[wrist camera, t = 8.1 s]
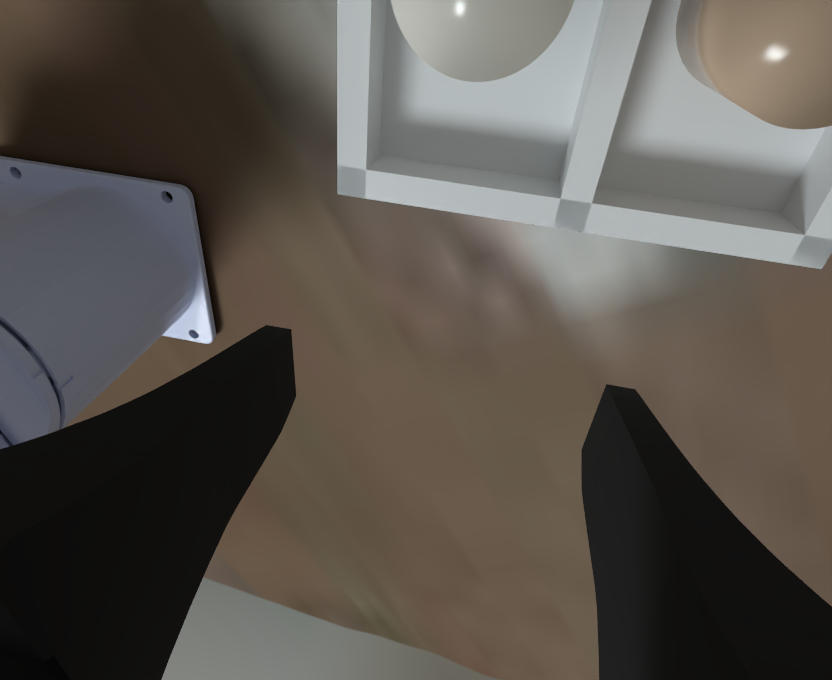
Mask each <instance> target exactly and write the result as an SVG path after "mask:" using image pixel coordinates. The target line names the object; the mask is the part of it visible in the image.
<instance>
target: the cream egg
mask: <svg viewBox="0 0 832 680" xmlns="http://www.w3.org/2000/svg"><path fill="white" fill-rule="evenodd" d="M391 3H392V7H393V11H394V15H395V17H396V20H397V22H398V25H399V27H400V29H401V31H402V33H403V35H404V37H405V39H406V40H407V42H408V43H409V45H410V46H411V48H412V49H413V50H414V51H415V52H416V53H417V55H418V56H419V57H420V58H421V59H422V60H423V61H425V62H426V63H427V64H428V65H429V66H431V67H432V68H434V69H435V70H437V71H438V72H440V73H442V74H444V75H446V76H448V77H451V78H454V79H458V80H462V81H468V82H487V81H494V80H498V79H501V78H505V77H507V76H510V75H512V74H514V73H517V72H518V71H520V70H522V69H523V68H525V67H527V66H528V65H529V64H531V63H532V62H533V61H535V60H536V59H537V58H538V57H539V56H540V55H541V54H542V53H543V52H544V51H545V50H546V49H547V48H548V47H549V46H550V44H551V43H552V42H553V41H554V39H555V38H556V37H557V35H558V34H559V32H560V30H561V29H562V27H563V26H564V24H565V22H566V20H567V18H568V16H569V14H570V11H571V9H572V6H573V3H574V0H391Z"/></svg>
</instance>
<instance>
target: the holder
mask: <svg viewBox="0 0 832 680" xmlns="http://www.w3.org/2000/svg"><path fill="white" fill-rule="evenodd" d="M680 3H681V0H574V3H573V6H572V9H571V11H570V14H569V16H568V18H567V20H566V22H565V24H564V26H563V27H562V29H561V30H560V32H559V34H558V35H557V37H556V38H555V39H554V41H553V42H552V43H551V44H550V46H549V47H548V48H547V49H546V50H545V51H544V52H543V53H542V54H541V55H540V56H539V57H538V58H537V59H536V60H535V61H533V62H532V63H531V64H529V65H528V66H527V67H525V68H523V69H522V70H520V71H518V72H517V73H514V74H512V75H510V76H507V77H505V78H501V79H498V80H494V81H487V82H468V81H462V80H458V79H454V78H451V77H448V76H446V75H444V74H442V73H440V72H438V71H437V70H435V69H434V68H432V67H431V66H429V65H428V64H427V63H426V62H425V61H423V60H422V59H421V58H420V57H419V56H418V55H417V53H416V52H415V51H414V50H413V49H412V48H411V46H410V45H409V43H408V42H407V40H406V39H405V37H404V35H403V33H402V31H401V29H400V27H399V25H398V22H397V20H396V17H395V15H394V11H393V7H392V3H391V0H337V194H340V195H346V196H352V197H359V198H365V199H372V200H378V201H385V202H391V203H398V204H404V205H411V206H417V207H423V208H430V209H436V210H443V211H449V212H456V213H462V214H469V215H475V216H482V217H488V218H494V219H501V220H507V221H514V222H520V223H527V224H533V225H540V226H546V227H553V228H559V229H565V230H572V231H578V232H585V233H591V234H598V235H604V236H611V237H617V238H624V239H630V240H636V241H643V242H649V243H656V244H662V245H669V246H675V247H682V248H688V249H694V250H701V251H707V252H714V253H720V254H727V255H733V256H740V257H746V258H753V259H759V260H765V261H772V262H778V263H785V264H791V265H798V266H804V267H811V268H817V269H822V268H823V266H824V264H825V263H826V261H827V260H828V258H829V256H830V255H831V253H832V126H829V127H823V128H817V129H803V130H802V129H788V128H783V127H778V126H775V125H772V124H770V123H767V122H765V121H763V120H761V119H759V118H758V117H756V116H754V115H753V114H751V113H749V112H748V111H746V110H744V109H743V108H741V107H739V106H738V105H736V104H735V103H733V102H731V101H730V100H728V99H726V98H725V97H723V96H722V95H720V94H718V93H717V92H715V91H713V90H712V89H710V88H708V87H707V86H705V85H704V84H702V83H700V82H699V81H698V80H696V79H695V78H694V77H693V76H692V75H691V74H690V73H689V72H688V70H687V69H686V67H685V66H684V64H683V62H682V60H681V57H680V55H679V52H678V48H677V41H676V22H677V15H678V11H679V7H680Z"/></svg>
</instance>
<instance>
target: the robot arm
mask: <svg viewBox="0 0 832 680" xmlns="http://www.w3.org/2000/svg"><path fill="white" fill-rule="evenodd" d="M18 170H19V171H20V172H21V173H19V171H18ZM166 191H167V192H169V193H170V194H171V195H172V198H173V200H172V199H170V198H169V197H168V196H167V194H166ZM194 330H195V331H196V332H197V333H198V334H197V333H195V332H194ZM162 335H163V336H168V337H173V338H179V339H184V340H189V341H194V342H200V343H205V344H209V343H211V342H212V341H213V340H214V339H215V338H216V330H215V324H214V318H213V312H212V306H211V300H210V294H209V288H208V282H207V276H206V270H205V264H204V258H203V252H202V246H201V240H200V234H199V228H198V222H197V216H196V210H195V204H194V198H193V195H192V193H191V191H190V190H189V189H188V188H187V187H185V186H183V185H181V184H175V183H168V182H162V181H156V180H149V179H143V178H137V177H130V176H124V175H118V174H111V173H105V172H99V171H92V170H86V169H80V168H73V167H67V166H61V165H54V164H48V163H42V162H35V161H29V160H23V159H16V158H10V157H4V156H0V680H161V679H162V676H163V673H164V671H165V668H166V666H167V663H168V660H169V657H170V655H171V653H172V650H173V648H174V645H175V643H176V640H177V638H178V635H179V633H180V631H181V628H182V626H183V623H184V621H185V618H186V615H187V613H188V610H189V608H190V606H191V604H192V601H193V599H194V597H195V594H196V592H197V590H198V587H199V585H200V583H201V581H202V578H203V576H204V574H205V571H206V569H207V567H208V565H209V562H210V560H211V558H212V556H213V554H214V552H215V549H216V547H217V545H218V543H219V541H220V539H221V537H222V534H223V532H224V530H225V528H226V526H227V524H228V522H229V520H230V518H231V517H232V515H233V513H234V511H235V509H236V508H237V506H238V504H239V502H240V501H241V499H242V497H243V496H244V494H245V492H246V491H247V489H248V487H249V486H250V484H251V482H252V481H253V479H254V477H255V476H256V474H257V472H258V471H259V469H260V467H261V466H262V464H263V462H264V460H265V459H266V457H267V455H268V454H269V452H270V450H271V448H272V447H273V445H274V443H275V442H276V440H277V438H278V436H279V435H280V433H281V431H282V429H283V426H284V424H285V422H286V419H287V417H288V415H289V412H290V410H291V407H292V405H293V402H294V400H295V397H296V387H295V374H294V361H293V348H292V335H291V329H285V328H280V327H274V326H268V325H266V326H264V327H262V328H260V329H259V330H257V331H255V332H253V333H252V334H250V335H248V336H247V337H245V338H244V339H242V340H240V341H239V342H237V343H235V344H234V345H232V346H230V347H229V348H227V349H226V350H224V351H222V352H221V353H219V354H217V355H216V356H214V357H212V358H210V359H209V360H207V361H205V362H204V363H202V364H200V365H199V366H197V367H195V368H194V369H192V370H190V371H188V372H186V373H184V374H183V375H181V376H179V377H177V378H175V379H173V380H171V381H170V382H168V383H166V384H164V385H162V386H160V387H158V388H157V389H155V390H153V391H151V392H149V393H147V394H145V395H143V396H141V397H138V398H136V399H134V400H132V401H130V402H128V403H125V404H123V405H121V406H119V407H116V408H114V409H112V410H109V411H107V412H105V413H102V414H100V415H98V416H95V417H92V418H90V419H87V420H84V421H82V422H79V423H76V424H74V425H71V426H68V427H66V426H67V425H68V424H69V423H70V422H71V421H72V420H73V419H74V418H75V417H76V416H77V415H78V414H79V413H81V412H82V411H83V410H84V409H85V408H86V407H87V406H88V405H89V404H90V403H91V402H92V401H93V400H94V399H95V398H96V397H97V396H98V395H100V394H101V393H102V392H103V391H104V390H105V389H106V388H107V387H108V386H109V385H110V384H111V383H112V382H113V381H114V380H115V379H116V378H117V377H118V376H120V375H121V374H122V373H123V372H124V371H125V370H126V369H127V368H128V367H129V366H130V365H131V364H132V363H133V362H134V361H135V360H136V359H137V358H139V357H140V356H141V355H142V354H143V353H144V352H145V351H146V350H147V349H148V348H149V347H150V346H151V345H152V344H153V343H154V342H155V341H156V340H158V339H159V338H160V337H161V336H162ZM65 427H66V428H65ZM582 496H583V504H584V511H585V519H586V526H587V533H588V540H589V547H590V554H591V562H592V569H593V576H594V583H595V591H596V602H597V617H598V645H599V680H832V606H830V605H829V604H828V603H827V602H826V601H824V600H823V599H822V598H821V597H820V596H819V595H817V594H816V593H815V592H814V591H813V590H812V589H811V588H810V587H808V586H807V585H806V584H805V583H804V582H803V581H802V580H801V579H799V578H798V577H797V576H796V575H795V574H794V573H793V572H792V571H790V570H789V569H788V568H787V567H786V566H785V565H784V564H783V563H782V562H781V561H780V560H779V559H777V558H776V557H775V556H774V555H773V554H772V553H771V552H770V551H769V550H768V549H767V548H766V547H765V546H764V545H763V544H762V543H761V542H760V541H759V540H758V539H757V538H756V537H755V536H754V535H753V534H752V533H751V532H750V531H749V530H748V529H747V528H746V527H745V526H744V525H743V524H742V523H741V522H740V521H739V520H738V519H737V518H736V516H735V515H734V514H733V513H732V512H731V511H730V510H729V509H728V508H727V507H726V506H725V504H724V503H723V502H722V501H721V500H720V499H719V498H718V496H717V495H716V494H715V493H714V492H713V491H712V489H711V488H710V487H709V486H708V485H707V484H706V483H705V481H704V480H703V479H702V478H701V477H700V475H699V474H698V473H697V472H696V470H695V469H694V468H693V467H692V465H691V464H690V463H689V462H688V460H687V459H686V458H685V457H684V455H683V454H682V453H681V451H680V450H679V449H678V447H677V446H676V445H675V443H674V442H673V441H672V439H671V438H670V437H669V435H668V434H667V433H666V431H665V430H664V429H663V427H662V426H661V424H660V423H659V422H658V420H657V419H656V418H655V416H654V415H653V413H652V412H651V411H650V409H649V408H648V406H647V405H646V403H645V402H644V401H643V399H642V398H641V397H640V395H639V394H638V393H637V391H636V390H635V389H630V388H624V387H618V386H613V385H607V384H606V387H605V389H604V392H603V395H602V397H601V400H600V403H599V405H598V408H597V411H596V413H595V416H594V419H593V421H592V424H591V426H590V429H589V432H588V434H587V437H586V440H585V442H584V445H583V448H582Z"/></svg>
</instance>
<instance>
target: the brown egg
mask: <svg viewBox="0 0 832 680" xmlns="http://www.w3.org/2000/svg"><path fill="white" fill-rule="evenodd" d="M676 41H677V48H678V52H679V55H680V57H681V60H682V62H683V64H684V66H685V67H686V69H687V70H688V72H689V73H690V74H691V75H692V76H693V77H694V78H695V79H696V80H698V81H699V82H700V83H702V84H704V85H705V86H707V87H708V88H710V89H712V90H713V91H715V92H717V93H718V94H720V95H722V96H723V97H725V98H726V99H728V100H730V101H731V102H733V103H735V104H736V105H738V106H739V107H741V108H743V109H744V110H746V111H748V112H749V113H751V114H753V115H754V116H756V117H758V118H759V119H761V120H763V121H765V122H767V123H770V124H772V125H775V126H778V127H783V128H788V129H802V130H803V129H817V128H823V127H829V126H832V0H681V3H680V7H679V11H678V15H677V22H676Z"/></svg>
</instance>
